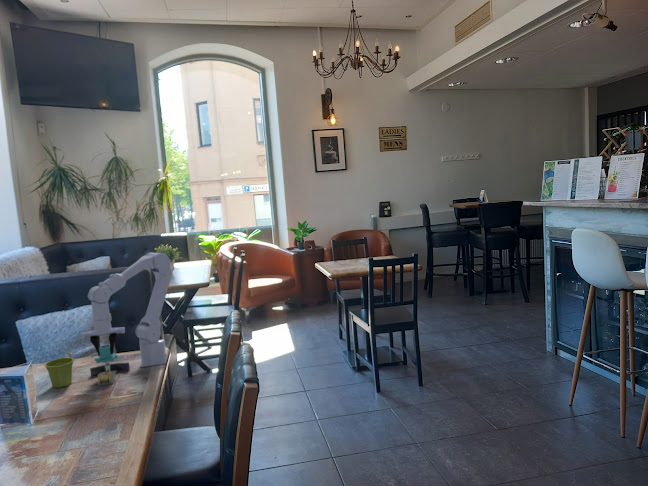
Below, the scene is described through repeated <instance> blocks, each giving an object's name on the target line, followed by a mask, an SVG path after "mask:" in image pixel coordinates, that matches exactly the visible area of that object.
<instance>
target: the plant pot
mask: <svg viewBox="0 0 648 486" xmlns="http://www.w3.org/2000/svg"><path fill="white" fill-rule="evenodd" d="M65 357H66V356H65ZM65 357H59V358H56V359H52V360H50V361H47V362H45V364H44V367H45V368H46V370H47V372H48V376H49V379H50V383H51V386H52V388H54V389H60V388H62V387H68V386H69V385H71V384H72V380H73V379H72V375H73V374H72V373H73V364H74V358H73V357H71V358H69V357H66V358H65Z"/></svg>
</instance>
